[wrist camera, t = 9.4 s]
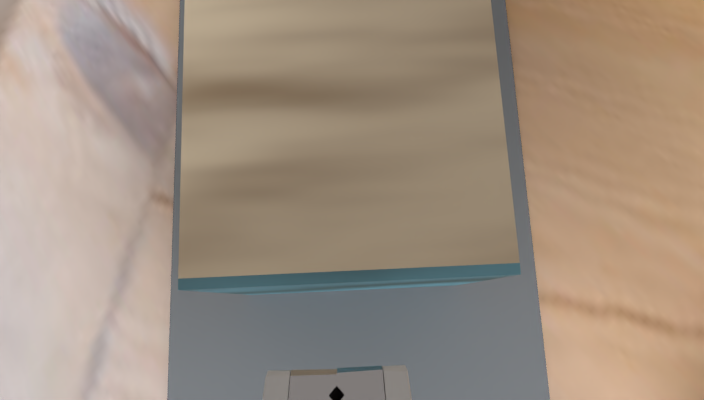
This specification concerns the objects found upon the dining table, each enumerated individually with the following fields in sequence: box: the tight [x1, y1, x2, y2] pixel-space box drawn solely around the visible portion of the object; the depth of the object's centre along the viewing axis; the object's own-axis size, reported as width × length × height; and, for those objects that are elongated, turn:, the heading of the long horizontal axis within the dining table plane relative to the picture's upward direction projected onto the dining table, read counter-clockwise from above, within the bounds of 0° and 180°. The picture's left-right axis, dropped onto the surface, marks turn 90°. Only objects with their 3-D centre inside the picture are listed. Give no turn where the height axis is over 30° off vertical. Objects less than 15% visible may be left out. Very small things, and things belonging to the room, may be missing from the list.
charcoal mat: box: [167, 0, 550, 400], centre depth 23 cm, size 32×16×1 cm, turn 2°
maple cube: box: [178, 0, 521, 295], centre depth 19 cm, size 9×9×9 cm
